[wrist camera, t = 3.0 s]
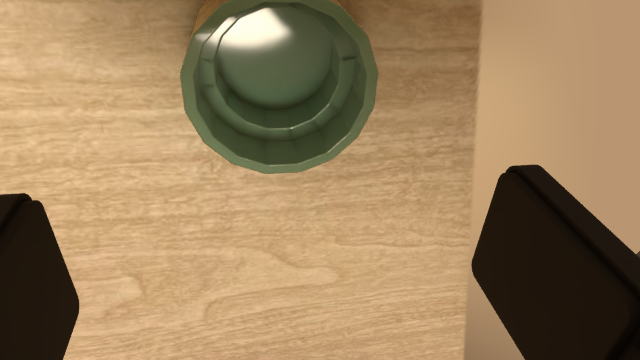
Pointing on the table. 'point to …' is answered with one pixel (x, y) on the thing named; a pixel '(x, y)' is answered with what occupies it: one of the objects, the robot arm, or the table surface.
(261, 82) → the bowl
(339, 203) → the table surface
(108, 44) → the table surface
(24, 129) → the table surface
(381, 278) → the table surface
